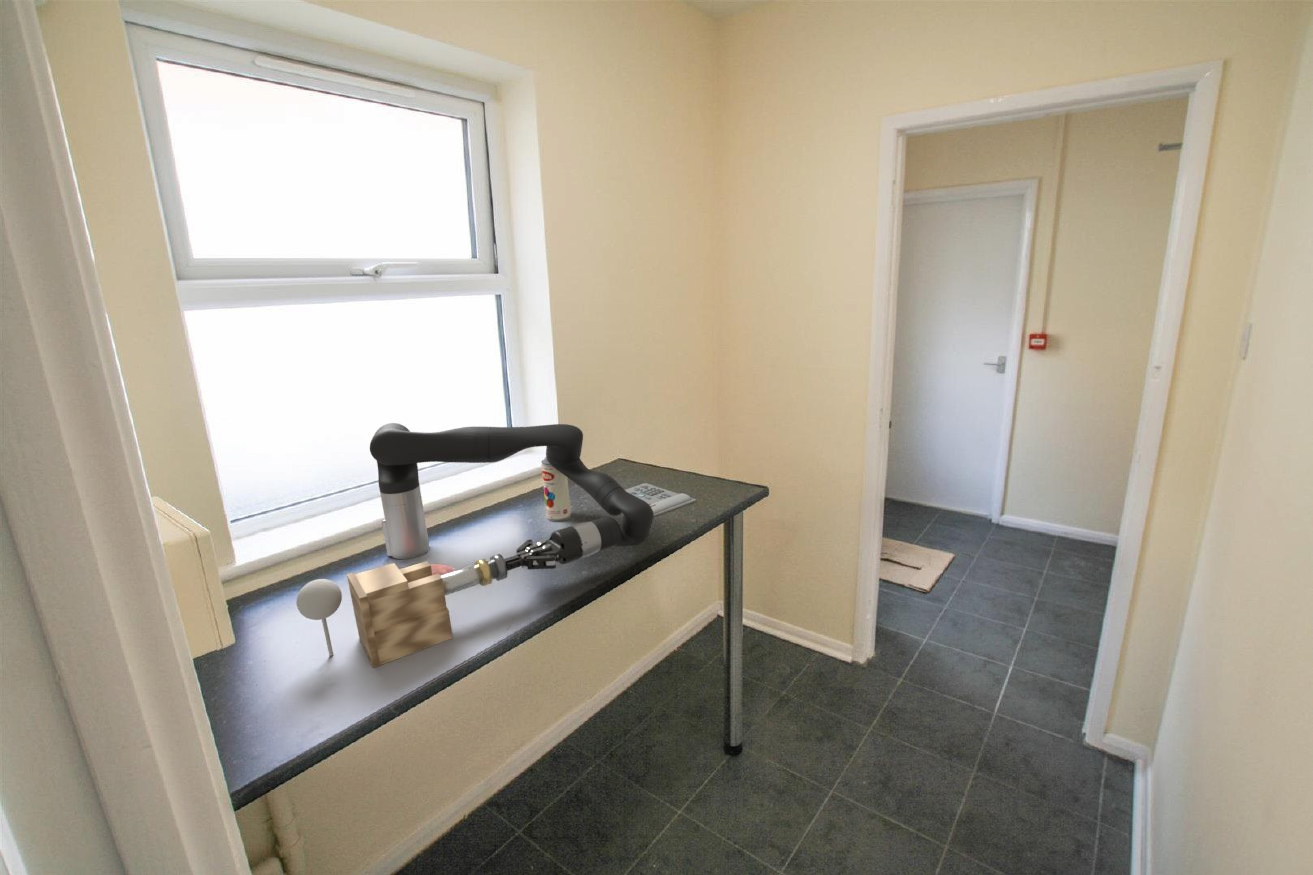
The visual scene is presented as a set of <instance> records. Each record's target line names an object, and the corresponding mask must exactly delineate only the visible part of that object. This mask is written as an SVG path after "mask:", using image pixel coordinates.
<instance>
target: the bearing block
mask: <svg viewBox="0 0 1313 875" xmlns="http://www.w3.org/2000/svg"><path fill="white" fill-rule="evenodd" d="M430 564H431V563H429V562H428V560H426V561H423V562H419V563H417V564H413V565H410V566H409V565H408V566H405V567H402V568H399V567H398V566H397V565H396V563H394V562H393V563H389V564H386V565H382V566H378V567H375V568H373V569H369V570H365V571H362V572H359V573H355V572H354V571H353V572H350V573H347V574H346V578H347V582H348V588H349V592H350V593H349V594H350V597H351V598H350V599H351V603H352V604H351V605H352V607H353V614H354V617H355V623H356V629H357V634H358V638H359V641H360V643H361V645H362V647H363V650H364V649H365V650H364V652H365V654H366V656H367V658H368V660H369V662H370V664H371V666H373V667H372V668H376V666H377V667H379V666H382V665H385V664H387V663H389V662H392V661H395V660H398V659H401V658H403V657H406V656H408V655H411V654H414V653H417V652H419V651H421V650H424V649H428V648H429V647H433V646H435V645H438V644H441V643H444V642H446V641H449V640H451V639H453V638H454V636H453V629H452V623H451V622H452V621H451V616H450V610H449V607H448V606H447V601H446V595H445V593H444V587H443V580H442V577H441V576H440V575H439V574H435V575H432V570H431V565H430Z"/></svg>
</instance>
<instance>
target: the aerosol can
mask: <svg viewBox="0 0 1313 875" xmlns="http://www.w3.org/2000/svg"><path fill="white" fill-rule="evenodd" d="M540 466H541V474H542V475H541V476H542V484H543V492H544V493H543V495H544V504H545V512H546V519H547V521H549V522H552V523H554V522H556V523H559V522H564V521H567V520H569V519H570V518H571V517H572V511H571V502H570V500H571V499H570V492H569V491H570V490H569V481H568V480H569V478H568V477H566V476H565V475H563V474H562V473H561V472H559V471H558V470H557V469H555V468H554V467H553V466H552V465H551V464H550V463H549V462H548V460H547V458H546V456H545V457H544V459H543V460H541V465H540Z"/></svg>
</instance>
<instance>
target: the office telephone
mask: <svg viewBox="0 0 1313 875" xmlns="http://www.w3.org/2000/svg"><path fill="white" fill-rule="evenodd" d="M624 490H625V491H626V492H628V493H630V494H632V495H634V496H636V497H638V498H640V499H642V500H644V501H645V502H647V503H648V504H649V505H650V507H651V508H652V510H653V513H654V517H657V516H660V515H663V514H665V513H668V512H670V511H671V512H672V511H674V510H676V509H679V508H682V507H684V506H687V505H690V504H693V503H696V502H697V500H696V498H694V497H690V495H689V494H686V493H678V492H674V491H671V490H668V489H665V488H662V487H659V486H655V485H654V484H650V483H647V482H645V483H644V482H643V483H641V484H637V485H635V486H632V487H630V488H629V487H628V488H626V489H624Z"/></svg>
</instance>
